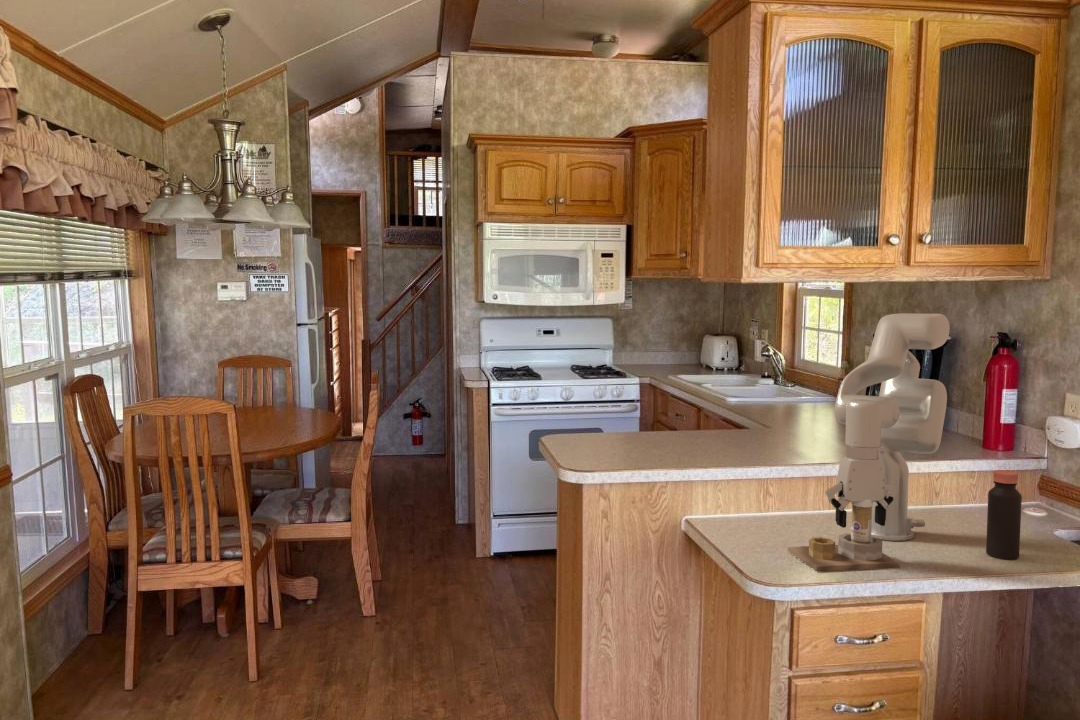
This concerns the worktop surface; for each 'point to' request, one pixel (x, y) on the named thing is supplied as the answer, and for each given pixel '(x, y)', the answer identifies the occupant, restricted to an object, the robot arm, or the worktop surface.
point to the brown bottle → (1004, 517)
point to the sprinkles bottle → (861, 522)
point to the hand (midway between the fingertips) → (860, 525)
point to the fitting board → (843, 554)
